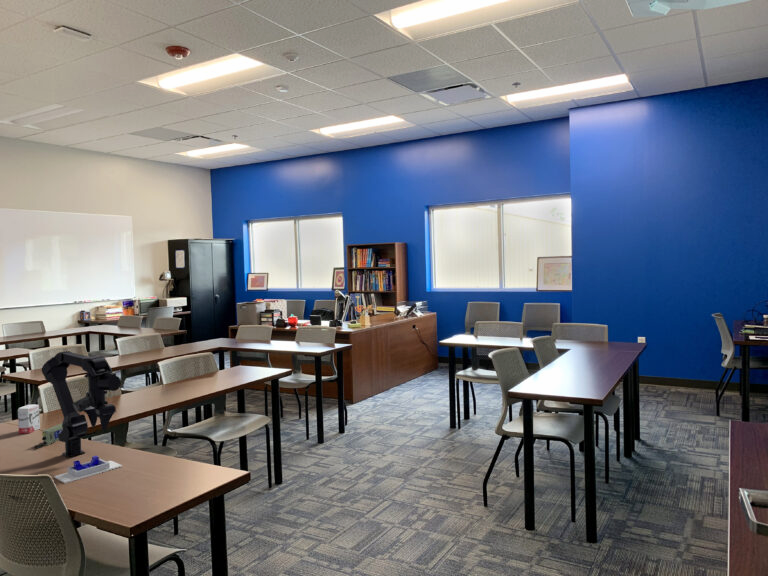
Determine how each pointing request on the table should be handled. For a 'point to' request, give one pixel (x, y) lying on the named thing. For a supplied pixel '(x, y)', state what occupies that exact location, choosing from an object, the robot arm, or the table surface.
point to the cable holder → (93, 463)
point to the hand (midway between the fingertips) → (98, 428)
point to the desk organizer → (87, 471)
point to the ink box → (28, 418)
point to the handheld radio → (50, 435)
